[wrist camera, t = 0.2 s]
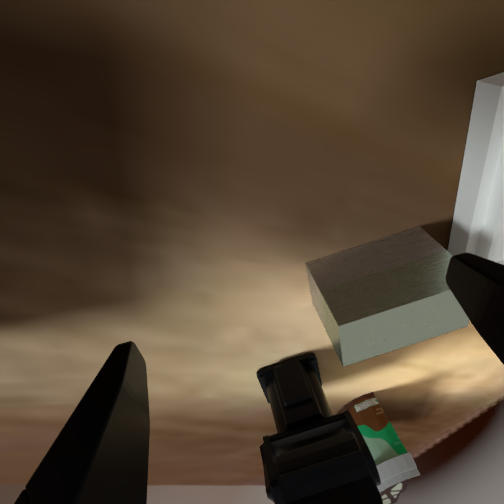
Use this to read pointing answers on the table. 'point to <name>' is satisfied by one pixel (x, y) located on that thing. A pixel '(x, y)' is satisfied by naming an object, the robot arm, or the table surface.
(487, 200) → the white rectangular tray
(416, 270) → the block
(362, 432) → the food container
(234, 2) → the table surface
